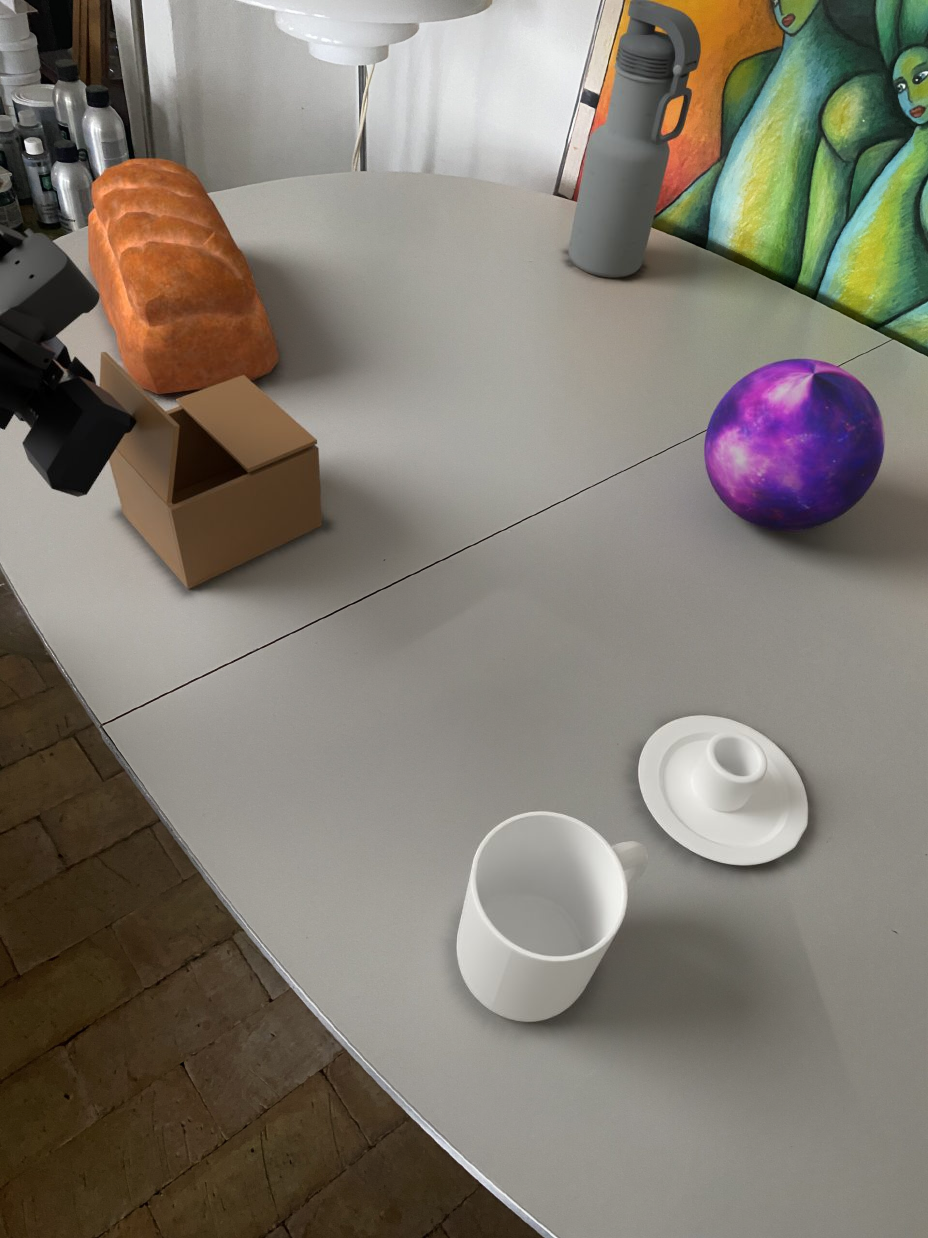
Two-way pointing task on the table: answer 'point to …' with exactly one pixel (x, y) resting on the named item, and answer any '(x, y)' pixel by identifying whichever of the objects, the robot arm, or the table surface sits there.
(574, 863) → the mug
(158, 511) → the carton
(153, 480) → the flap
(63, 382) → the robot arm
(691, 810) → the candle holder
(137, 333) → the bread
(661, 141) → the water bottle
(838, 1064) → the table surface
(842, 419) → the decorative orb
